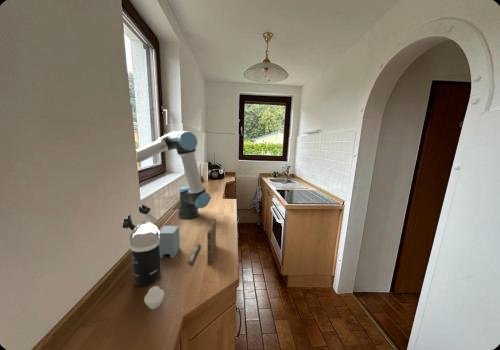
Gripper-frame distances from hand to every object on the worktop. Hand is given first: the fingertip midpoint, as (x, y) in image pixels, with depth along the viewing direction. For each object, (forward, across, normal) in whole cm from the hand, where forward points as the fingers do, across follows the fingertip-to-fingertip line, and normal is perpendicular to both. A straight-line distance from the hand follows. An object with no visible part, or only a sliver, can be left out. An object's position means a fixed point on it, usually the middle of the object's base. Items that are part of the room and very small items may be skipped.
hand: (150, 227), depth 91 cm
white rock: (+21, +30, +1) cm, 37 cm away
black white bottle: (+15, +17, -5) cm, 23 cm away
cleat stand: (+28, 0, +9) cm, 30 cm away
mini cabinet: (+16, -1, -4) cm, 16 cm away
